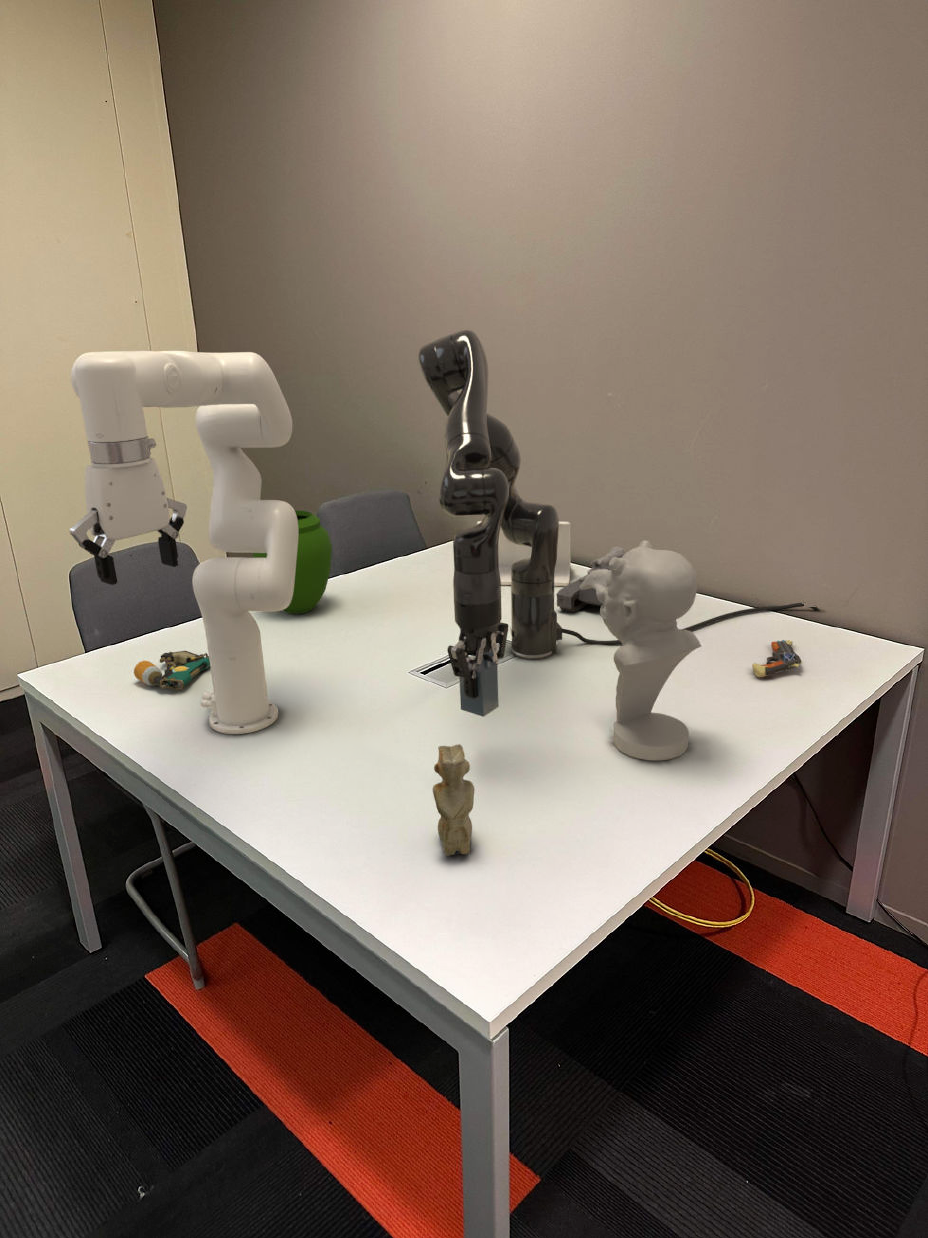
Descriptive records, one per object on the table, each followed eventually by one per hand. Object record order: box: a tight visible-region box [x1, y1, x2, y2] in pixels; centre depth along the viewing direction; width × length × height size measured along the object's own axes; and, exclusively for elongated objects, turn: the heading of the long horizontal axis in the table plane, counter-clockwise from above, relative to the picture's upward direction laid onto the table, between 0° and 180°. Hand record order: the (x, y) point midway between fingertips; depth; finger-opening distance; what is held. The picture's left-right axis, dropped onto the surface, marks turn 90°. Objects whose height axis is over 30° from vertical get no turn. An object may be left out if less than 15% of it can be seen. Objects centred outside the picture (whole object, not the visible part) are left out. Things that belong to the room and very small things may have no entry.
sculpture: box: [432, 743, 475, 856], centre depth 119 cm, size 6×7×15 cm
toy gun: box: [751, 639, 804, 678], centre depth 178 cm, size 3×19×10 cm
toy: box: [556, 546, 626, 613], centre depth 212 cm, size 25×20×15 cm
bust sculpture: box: [579, 540, 702, 761], centre depth 146 cm, size 16×24×35 cm
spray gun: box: [133, 650, 210, 690], centre depth 180 cm, size 4×17×15 cm
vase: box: [252, 510, 333, 615], centre depth 213 cm, size 20×20×24 cm
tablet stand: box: [476, 520, 572, 587], centre depth 236 cm, size 18×25×17 cm
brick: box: [458, 656, 499, 717], centre depth 141 cm, size 4×5×8 cm
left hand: (140, 573), depth 121 cm, fingers open, 9 cm apart
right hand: (480, 690), depth 142 cm, fingers closed on brick, 4 cm apart
